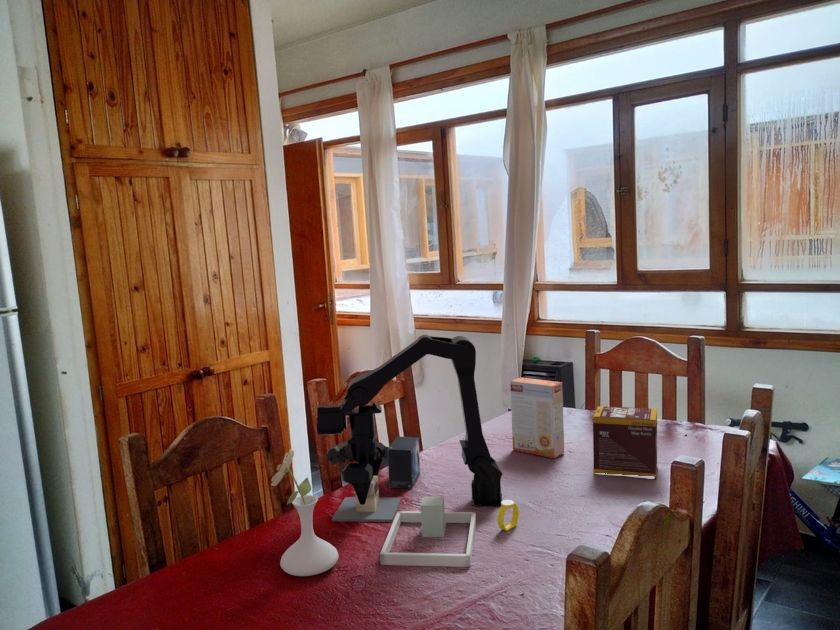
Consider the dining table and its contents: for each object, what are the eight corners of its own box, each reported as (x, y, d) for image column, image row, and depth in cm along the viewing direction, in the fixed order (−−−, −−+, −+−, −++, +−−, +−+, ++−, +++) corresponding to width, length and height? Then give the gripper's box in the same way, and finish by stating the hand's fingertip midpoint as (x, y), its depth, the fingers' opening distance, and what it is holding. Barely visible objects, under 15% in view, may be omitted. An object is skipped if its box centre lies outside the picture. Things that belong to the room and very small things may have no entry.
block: (445, 527, 142) (443, 497, 141) (443, 537, 137) (441, 505, 136) (425, 527, 142) (423, 496, 141) (422, 536, 138) (420, 505, 137)
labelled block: (360, 503, 155) (358, 475, 154) (379, 503, 154) (378, 475, 153) (356, 511, 151) (354, 482, 150) (375, 512, 150) (373, 482, 149)
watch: (506, 536, 137) (504, 510, 136) (495, 532, 139) (493, 506, 138) (522, 523, 141) (520, 498, 140) (511, 520, 143) (509, 495, 142)
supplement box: (656, 480, 161) (656, 419, 159) (593, 474, 167) (592, 416, 165) (658, 465, 171) (657, 408, 169) (597, 461, 176) (596, 405, 174)
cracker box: (565, 453, 183) (563, 381, 181) (554, 460, 179) (552, 386, 176) (523, 444, 193) (521, 375, 190) (512, 450, 188) (509, 380, 186)
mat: (401, 499, 157) (401, 497, 157) (392, 521, 146) (392, 519, 146) (345, 499, 160) (345, 497, 159) (332, 521, 148) (331, 518, 148)
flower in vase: (306, 548, 136) (297, 432, 132) (350, 559, 130) (342, 439, 127) (262, 578, 124) (251, 453, 121) (308, 592, 119) (297, 461, 115)
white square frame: (476, 521, 144) (475, 512, 143) (470, 566, 124) (469, 556, 124) (398, 520, 146) (397, 511, 146) (380, 564, 127) (379, 554, 127)
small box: (413, 489, 164) (411, 449, 162) (388, 488, 165) (386, 449, 164) (421, 473, 174) (419, 436, 173) (398, 473, 175) (395, 435, 174)
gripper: (339, 420, 161) (344, 480, 163) (317, 445, 142) (322, 512, 144) (383, 419, 159) (387, 480, 161) (366, 445, 141) (371, 513, 143)
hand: (367, 496), depth 152 cm, fingers open, 9 cm apart
